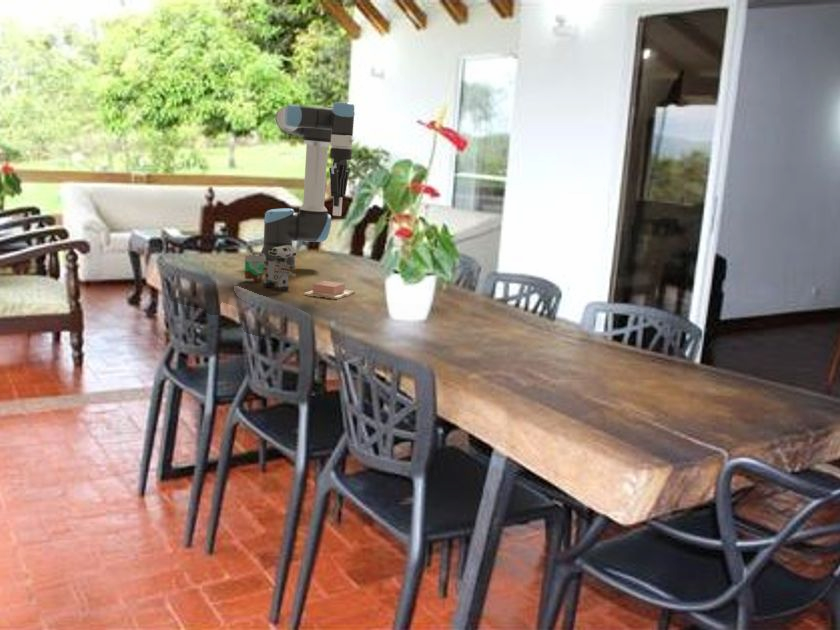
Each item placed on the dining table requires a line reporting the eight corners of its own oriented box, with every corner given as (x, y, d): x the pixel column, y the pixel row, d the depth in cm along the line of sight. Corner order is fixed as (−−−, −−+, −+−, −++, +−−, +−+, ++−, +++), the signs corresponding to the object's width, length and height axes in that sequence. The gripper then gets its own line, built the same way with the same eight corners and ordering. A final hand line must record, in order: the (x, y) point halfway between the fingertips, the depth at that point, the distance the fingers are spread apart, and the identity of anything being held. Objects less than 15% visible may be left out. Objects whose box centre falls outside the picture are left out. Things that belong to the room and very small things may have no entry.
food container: (261, 285, 298) (262, 257, 296) (243, 283, 298) (245, 255, 296) (268, 279, 310) (269, 252, 308) (251, 278, 310) (252, 251, 308)
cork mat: (323, 288, 300) (323, 286, 300) (354, 293, 297) (354, 291, 296) (303, 295, 285) (303, 292, 285) (336, 299, 282) (336, 297, 281)
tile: (324, 280, 295) (312, 283, 286) (344, 283, 292) (334, 286, 284) (323, 289, 295) (312, 292, 287) (344, 292, 293) (333, 295, 284)
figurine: (301, 289, 296) (303, 247, 293) (275, 291, 287) (277, 248, 284) (285, 285, 302) (287, 243, 299) (259, 287, 293) (261, 244, 290)
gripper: (343, 148, 285) (339, 217, 290) (358, 149, 298) (353, 215, 302) (323, 146, 288) (319, 215, 292) (338, 147, 300) (334, 213, 304)
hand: (336, 215), depth 297 cm, fingers closed
